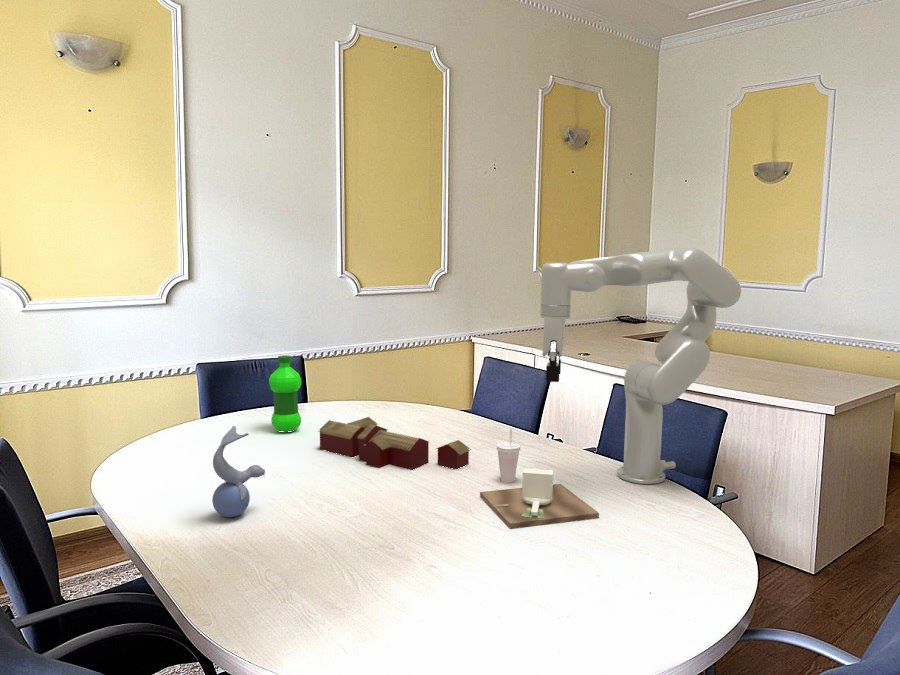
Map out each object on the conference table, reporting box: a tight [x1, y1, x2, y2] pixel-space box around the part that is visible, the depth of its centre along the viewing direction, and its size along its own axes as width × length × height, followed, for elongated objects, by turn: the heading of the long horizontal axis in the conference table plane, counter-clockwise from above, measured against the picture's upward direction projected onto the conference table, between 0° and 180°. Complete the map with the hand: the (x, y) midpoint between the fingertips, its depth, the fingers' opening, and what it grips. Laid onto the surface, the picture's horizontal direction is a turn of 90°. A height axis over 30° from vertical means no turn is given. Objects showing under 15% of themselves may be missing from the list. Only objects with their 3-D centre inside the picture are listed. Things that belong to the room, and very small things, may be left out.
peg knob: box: [521, 467, 554, 516], centre depth 162 cm, size 14×7×7 cm, turn 169°
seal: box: [212, 425, 266, 518], centre depth 159 cm, size 8×12×20 cm
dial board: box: [479, 483, 600, 530], centre depth 166 cm, size 22×20×1 cm
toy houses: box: [317, 416, 472, 471], centre depth 203 cm, size 45×20×10 cm, turn 56°
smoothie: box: [496, 428, 522, 484], centre depth 183 cm, size 6×6×14 cm
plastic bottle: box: [268, 354, 302, 432], centre depth 228 cm, size 10×10×25 cm
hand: (553, 377), depth 179 cm, fingers open, 9 cm apart
